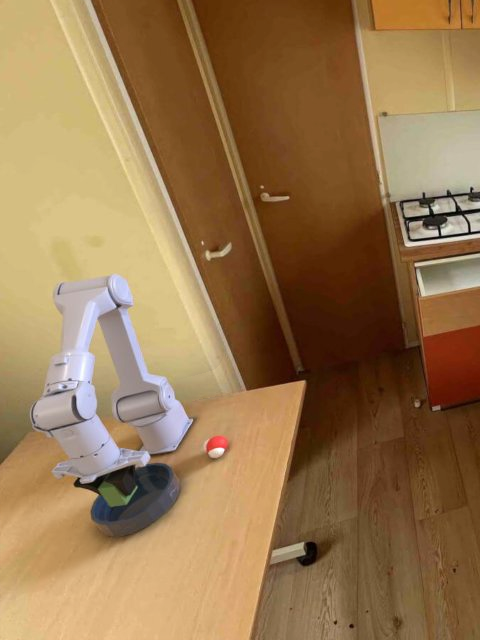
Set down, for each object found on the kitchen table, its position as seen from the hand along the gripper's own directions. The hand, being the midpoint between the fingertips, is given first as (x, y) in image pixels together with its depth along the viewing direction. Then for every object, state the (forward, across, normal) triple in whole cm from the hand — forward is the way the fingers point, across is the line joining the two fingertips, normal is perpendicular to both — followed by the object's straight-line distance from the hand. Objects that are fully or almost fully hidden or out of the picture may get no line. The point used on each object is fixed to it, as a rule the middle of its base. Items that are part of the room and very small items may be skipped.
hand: (121, 492), depth 82 cm
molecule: (+9, +9, +14) cm, 19 cm away
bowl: (+8, -1, +3) cm, 9 cm away
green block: (+1, 0, 0) cm, 1 cm away
